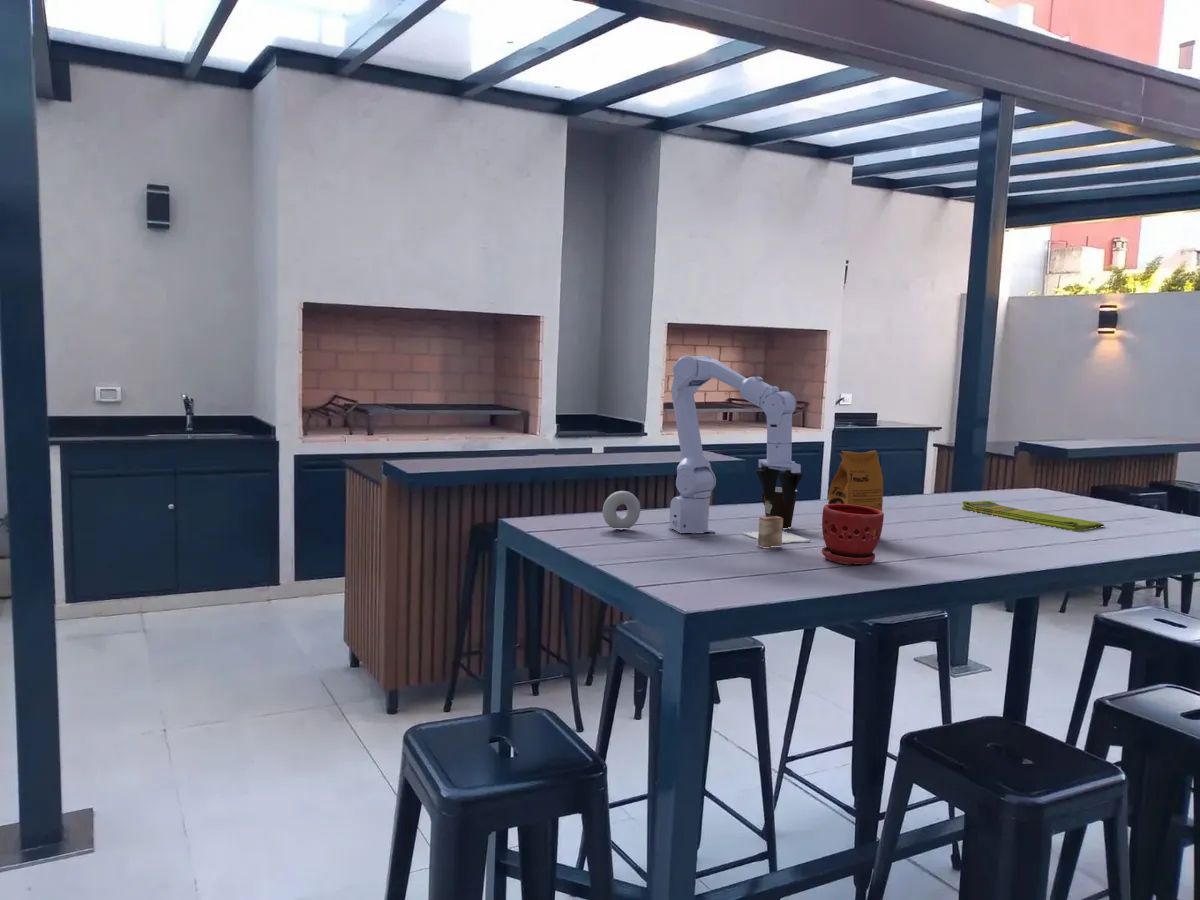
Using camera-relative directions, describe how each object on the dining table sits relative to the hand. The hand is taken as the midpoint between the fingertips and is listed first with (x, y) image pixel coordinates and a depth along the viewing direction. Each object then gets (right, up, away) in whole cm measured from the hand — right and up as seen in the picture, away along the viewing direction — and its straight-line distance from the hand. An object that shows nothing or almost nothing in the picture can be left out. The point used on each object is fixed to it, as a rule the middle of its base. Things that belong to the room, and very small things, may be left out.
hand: (778, 500), depth 217 cm
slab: (-2, -11, +1) cm, 11 cm away
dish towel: (+83, -9, +51) cm, 98 cm away
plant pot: (+14, -13, -11) cm, 22 cm away
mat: (+1, -10, +11) cm, 14 cm away
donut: (-37, -8, +14) cm, 40 cm away
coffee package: (+21, -10, +15) cm, 28 cm away
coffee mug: (+5, -8, +26) cm, 28 cm away
